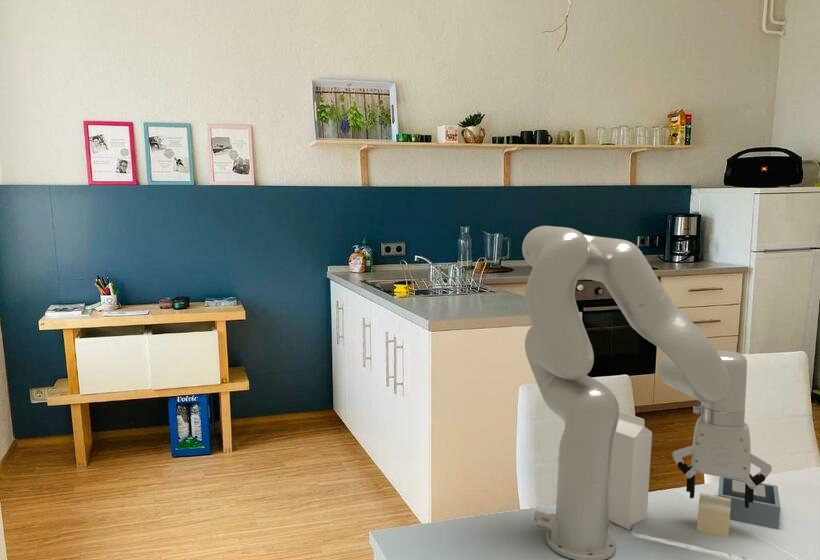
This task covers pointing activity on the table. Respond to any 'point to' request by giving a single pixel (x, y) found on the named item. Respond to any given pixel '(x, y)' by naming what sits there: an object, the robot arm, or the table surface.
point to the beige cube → (714, 515)
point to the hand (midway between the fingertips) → (718, 500)
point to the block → (739, 491)
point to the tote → (753, 505)
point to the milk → (630, 471)
